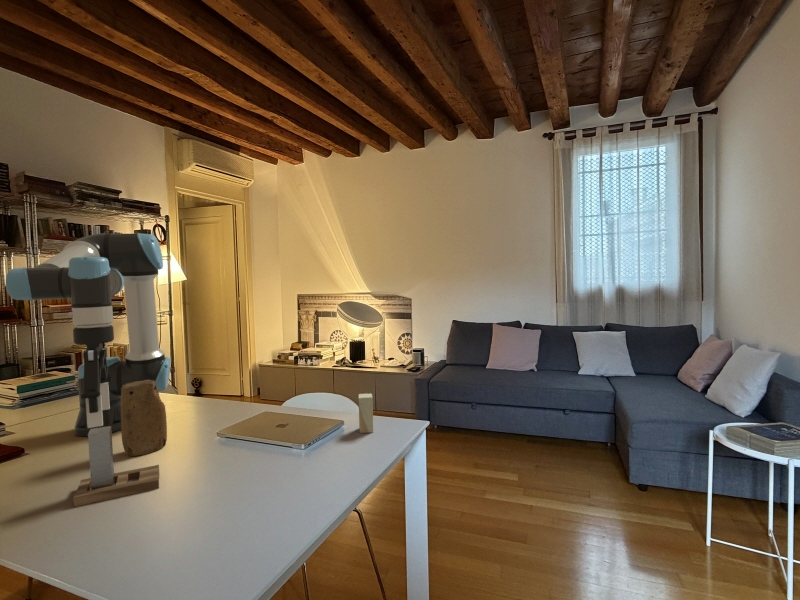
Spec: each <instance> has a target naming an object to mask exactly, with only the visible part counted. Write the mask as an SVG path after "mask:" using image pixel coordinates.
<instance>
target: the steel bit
mask: <svg viewBox="0 0 800 600" xmlns="http://www.w3.org/2000/svg"><path fill="white" fill-rule="evenodd" d="M87 439H88V440H87V441H88V457H89V458H88V459H89V473H90V474H89V476H90V478H91V490H94V489H99V488H104V487H109V486H113V485H115V482H114V473H115V468H114V465H115V464H114V451H113V450H114V449H113V432H112V431H111V426H107V427H101V428H94V429H90V431H89V433H88V436H87Z"/></svg>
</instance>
